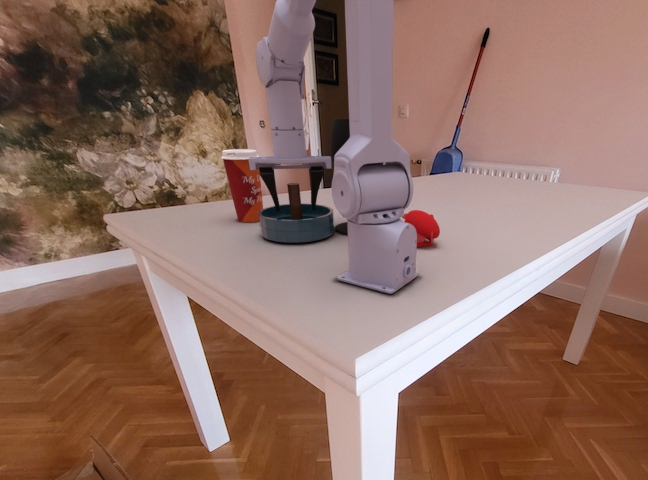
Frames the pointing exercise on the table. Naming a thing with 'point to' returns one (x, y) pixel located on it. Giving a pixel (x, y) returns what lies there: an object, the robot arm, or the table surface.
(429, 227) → the cap
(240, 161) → the paper cup
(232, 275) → the table surface
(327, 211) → the bowl
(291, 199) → the stirrer
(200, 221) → the table surface
